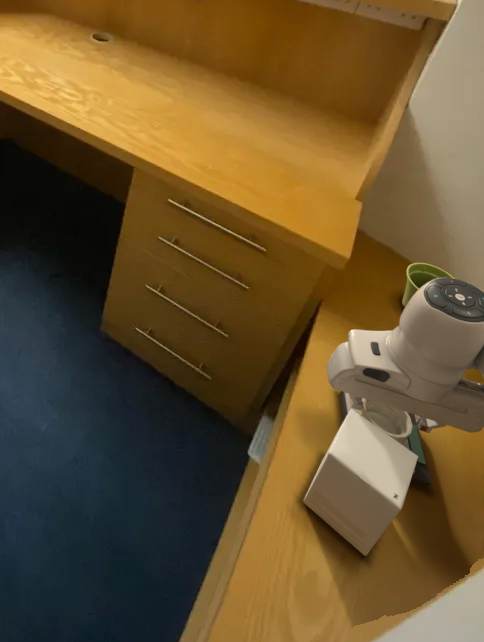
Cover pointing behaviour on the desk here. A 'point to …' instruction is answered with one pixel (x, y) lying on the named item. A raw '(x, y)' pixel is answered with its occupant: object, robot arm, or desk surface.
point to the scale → (412, 444)
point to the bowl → (387, 419)
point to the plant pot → (420, 278)
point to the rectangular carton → (361, 482)
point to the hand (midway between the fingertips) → (387, 415)
